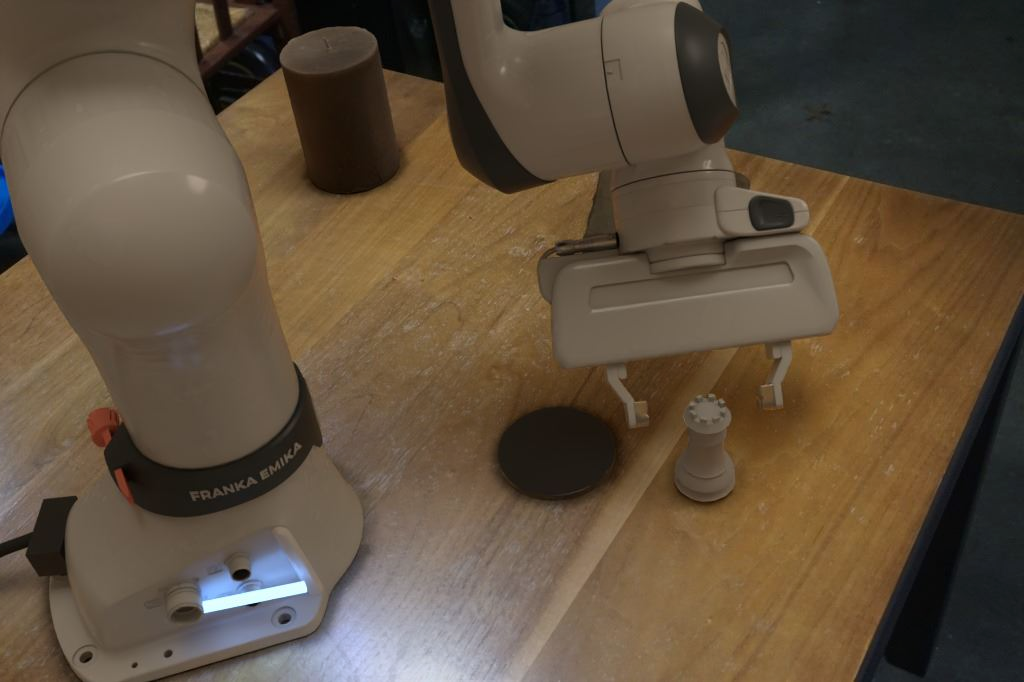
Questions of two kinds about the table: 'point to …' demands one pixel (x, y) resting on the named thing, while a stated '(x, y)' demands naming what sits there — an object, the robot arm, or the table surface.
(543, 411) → the slate coaster
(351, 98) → the pillar candle
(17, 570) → the table surface
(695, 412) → the rook chess piece
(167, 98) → the robot arm
